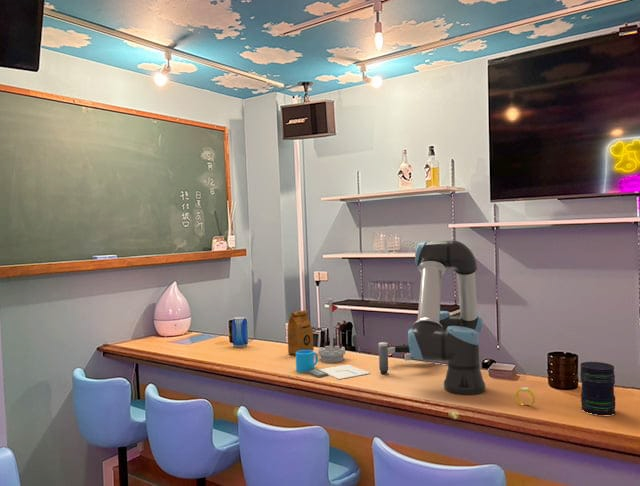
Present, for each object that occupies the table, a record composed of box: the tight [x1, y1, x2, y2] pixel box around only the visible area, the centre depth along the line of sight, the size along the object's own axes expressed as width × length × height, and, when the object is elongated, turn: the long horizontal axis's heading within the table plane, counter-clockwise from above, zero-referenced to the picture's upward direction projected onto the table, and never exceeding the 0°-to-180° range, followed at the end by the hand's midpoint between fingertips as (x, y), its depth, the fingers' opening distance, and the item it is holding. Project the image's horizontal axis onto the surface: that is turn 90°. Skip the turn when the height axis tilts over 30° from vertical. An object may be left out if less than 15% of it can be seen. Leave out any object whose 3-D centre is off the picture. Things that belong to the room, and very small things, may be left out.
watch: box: [515, 386, 536, 407], centre depth 174 cm, size 6×3×6 cm, turn 51°
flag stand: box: [318, 297, 346, 363], centre depth 247 cm, size 13×13×30 cm
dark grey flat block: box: [306, 368, 329, 379], centre depth 222 cm, size 10×5×1 cm, turn 30°
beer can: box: [231, 316, 249, 349], centre depth 285 cm, size 8×8×16 cm
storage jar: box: [579, 361, 616, 415], centre depth 166 cm, size 10×10×15 cm
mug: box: [295, 350, 319, 373], centre depth 231 cm, size 12×8×8 cm
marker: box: [378, 341, 389, 375], centre depth 220 cm, size 4×4×13 cm
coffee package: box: [287, 309, 315, 356], centre depth 263 cm, size 10×12×22 cm
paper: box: [318, 364, 371, 381], centre depth 224 cm, size 18×16×1 cm
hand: (394, 354), depth 224 cm, fingers open, 13 cm apart
